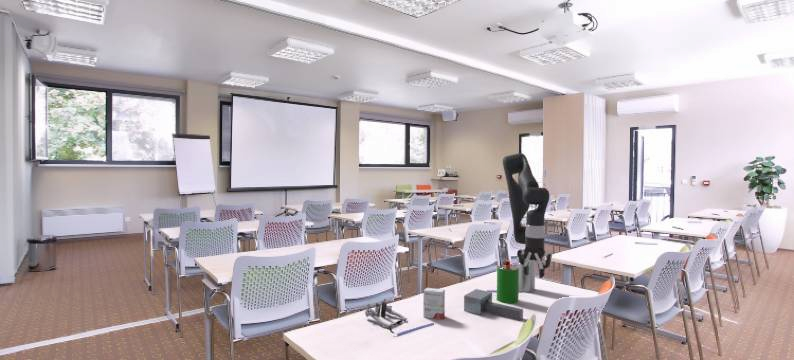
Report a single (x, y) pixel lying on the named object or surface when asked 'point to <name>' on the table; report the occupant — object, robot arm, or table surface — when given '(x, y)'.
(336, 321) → the table surface
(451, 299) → the table surface
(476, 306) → the housing
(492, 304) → the plug rod
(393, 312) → the bike brake
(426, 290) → the ink box
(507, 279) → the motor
